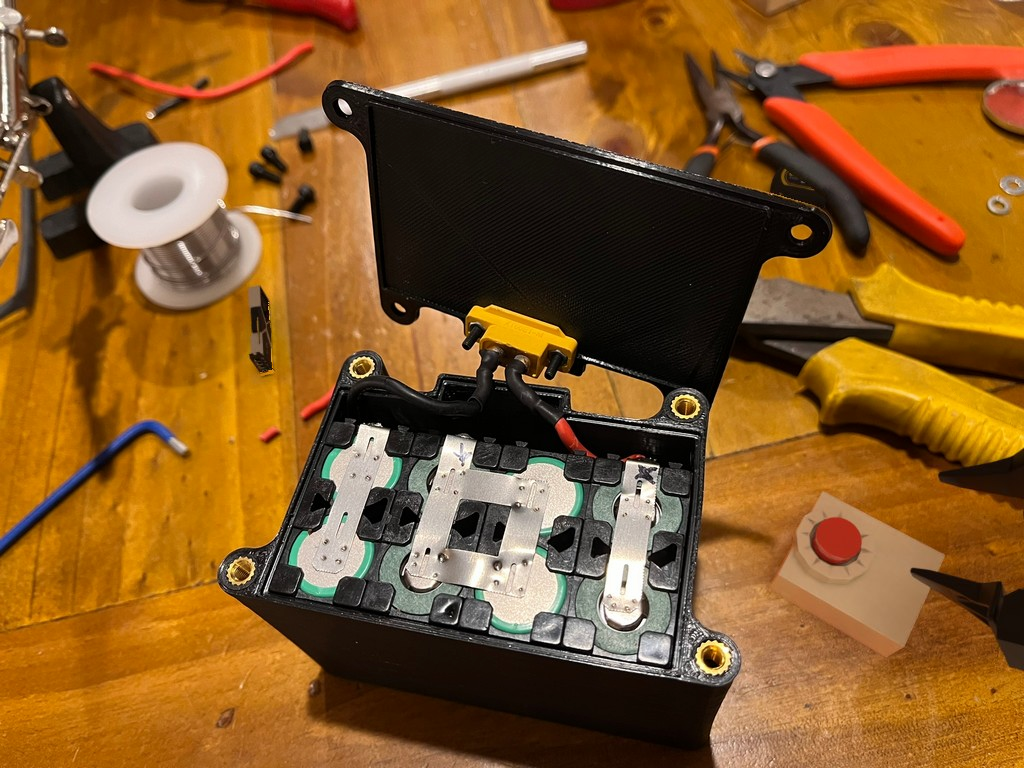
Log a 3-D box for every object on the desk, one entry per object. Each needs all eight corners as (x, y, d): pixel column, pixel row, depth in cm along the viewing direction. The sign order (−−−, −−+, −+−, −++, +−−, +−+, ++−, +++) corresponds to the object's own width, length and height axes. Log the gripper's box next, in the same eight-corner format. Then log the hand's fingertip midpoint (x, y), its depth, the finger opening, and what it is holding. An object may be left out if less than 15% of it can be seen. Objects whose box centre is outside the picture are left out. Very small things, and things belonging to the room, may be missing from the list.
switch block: (925, 570, 77) (953, 549, 71) (886, 657, 73) (911, 643, 67) (806, 506, 81) (822, 481, 75) (763, 586, 78) (777, 566, 72)
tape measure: (765, 216, 101) (771, 196, 98) (770, 177, 104) (775, 156, 101) (820, 221, 99) (827, 201, 96) (823, 182, 103) (830, 161, 99)
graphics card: (275, 375, 97) (271, 354, 93) (253, 377, 97) (248, 355, 93) (270, 302, 103) (266, 278, 99) (250, 303, 102) (245, 279, 98)
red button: (863, 537, 73) (869, 531, 71) (846, 572, 71) (851, 567, 70) (823, 515, 74) (827, 509, 73) (804, 549, 73) (809, 543, 71)
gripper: (1179, 386, 53) (930, 376, 64) (1140, 640, 45) (867, 578, 56) (1186, 474, 59) (959, 451, 70) (1153, 709, 52) (905, 641, 63)
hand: (925, 523), depth 65 cm, fingers open, 9 cm apart
